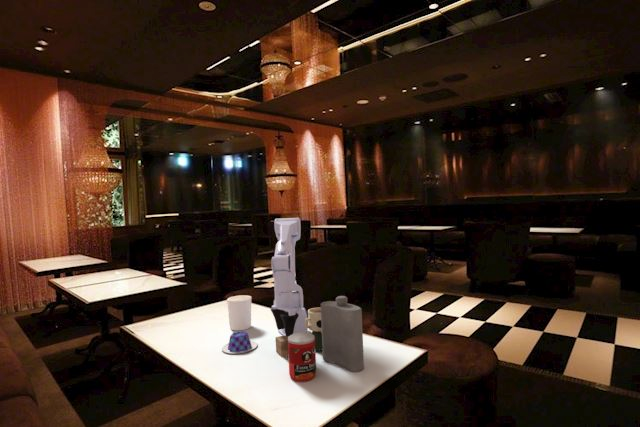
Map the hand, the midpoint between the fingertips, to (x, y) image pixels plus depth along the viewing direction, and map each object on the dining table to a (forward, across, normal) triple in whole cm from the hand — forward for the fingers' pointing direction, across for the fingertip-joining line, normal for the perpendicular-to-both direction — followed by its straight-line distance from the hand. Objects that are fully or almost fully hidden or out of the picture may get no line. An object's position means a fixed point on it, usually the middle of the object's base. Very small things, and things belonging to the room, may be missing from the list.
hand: (285, 332), depth 119 cm
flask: (+7, +17, +12) cm, 22 cm away
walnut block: (+7, 0, 0) cm, 7 cm away
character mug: (+7, +3, +11) cm, 13 cm away
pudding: (+7, -13, -12) cm, 19 cm away
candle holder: (+7, -35, -6) cm, 36 cm away
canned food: (+7, +18, -2) cm, 19 cm away
